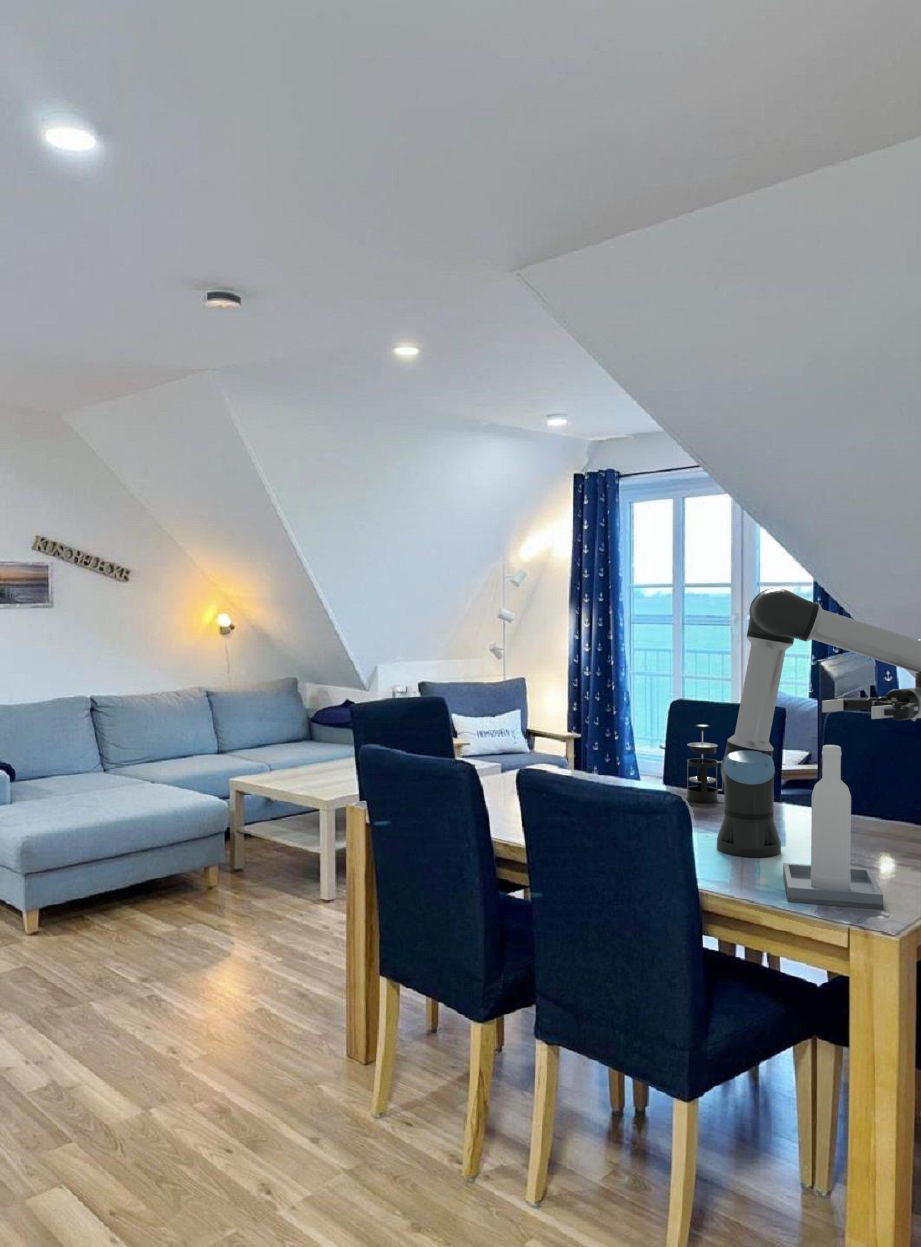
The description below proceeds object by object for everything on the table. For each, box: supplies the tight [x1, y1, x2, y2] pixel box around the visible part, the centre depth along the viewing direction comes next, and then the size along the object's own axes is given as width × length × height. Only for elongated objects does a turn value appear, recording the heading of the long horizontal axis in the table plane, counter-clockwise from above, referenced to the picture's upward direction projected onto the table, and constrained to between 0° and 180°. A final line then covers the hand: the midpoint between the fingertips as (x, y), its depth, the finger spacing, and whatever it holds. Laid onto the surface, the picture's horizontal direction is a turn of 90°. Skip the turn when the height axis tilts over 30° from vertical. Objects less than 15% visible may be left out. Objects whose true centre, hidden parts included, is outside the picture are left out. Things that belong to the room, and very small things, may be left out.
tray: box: [782, 862, 884, 910], centre depth 201 cm, size 18×18×3 cm
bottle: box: [810, 744, 852, 890], centre depth 200 cm, size 8×8×30 cm
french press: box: [686, 724, 724, 804], centre depth 289 cm, size 12×9×23 cm
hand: (847, 709), depth 221 cm, fingers open, 13 cm apart
